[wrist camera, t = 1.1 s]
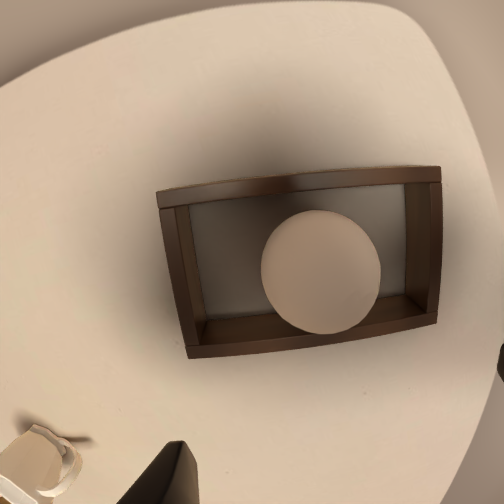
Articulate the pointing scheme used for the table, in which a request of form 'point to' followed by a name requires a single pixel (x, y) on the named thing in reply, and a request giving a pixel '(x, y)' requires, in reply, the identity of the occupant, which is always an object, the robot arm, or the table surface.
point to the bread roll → (4, 501)
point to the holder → (273, 325)
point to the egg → (320, 272)
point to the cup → (36, 467)
